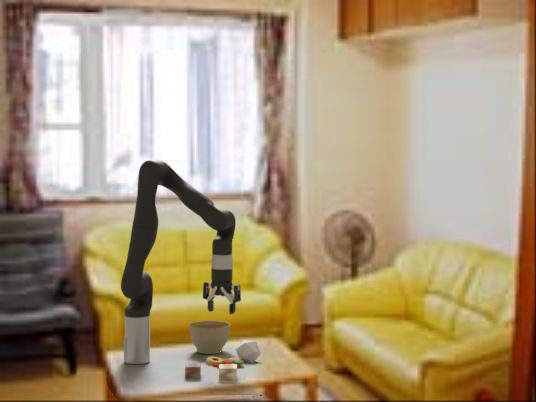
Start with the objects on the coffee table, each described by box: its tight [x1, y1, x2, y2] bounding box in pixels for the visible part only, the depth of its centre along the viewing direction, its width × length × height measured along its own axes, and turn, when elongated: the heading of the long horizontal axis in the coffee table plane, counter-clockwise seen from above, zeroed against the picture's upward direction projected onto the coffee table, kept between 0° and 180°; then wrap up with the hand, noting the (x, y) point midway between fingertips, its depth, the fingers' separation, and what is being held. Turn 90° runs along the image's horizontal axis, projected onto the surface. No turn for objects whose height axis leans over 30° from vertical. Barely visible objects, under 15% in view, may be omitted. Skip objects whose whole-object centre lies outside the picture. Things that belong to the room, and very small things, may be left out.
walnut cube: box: [184, 363, 202, 379], centre depth 291 cm, size 5×5×5 cm
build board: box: [209, 373, 247, 384], centre depth 289 cm, size 12×12×1 cm
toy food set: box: [205, 356, 245, 370], centre depth 308 cm, size 13×13×3 cm
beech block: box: [218, 364, 238, 380], centre depth 289 cm, size 6×6×4 cm
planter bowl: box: [188, 320, 231, 355], centre depth 331 cm, size 16×16×11 cm
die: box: [235, 339, 262, 364], centre depth 316 cm, size 8×9×10 cm
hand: (221, 312), depth 301 cm, fingers open, 8 cm apart
